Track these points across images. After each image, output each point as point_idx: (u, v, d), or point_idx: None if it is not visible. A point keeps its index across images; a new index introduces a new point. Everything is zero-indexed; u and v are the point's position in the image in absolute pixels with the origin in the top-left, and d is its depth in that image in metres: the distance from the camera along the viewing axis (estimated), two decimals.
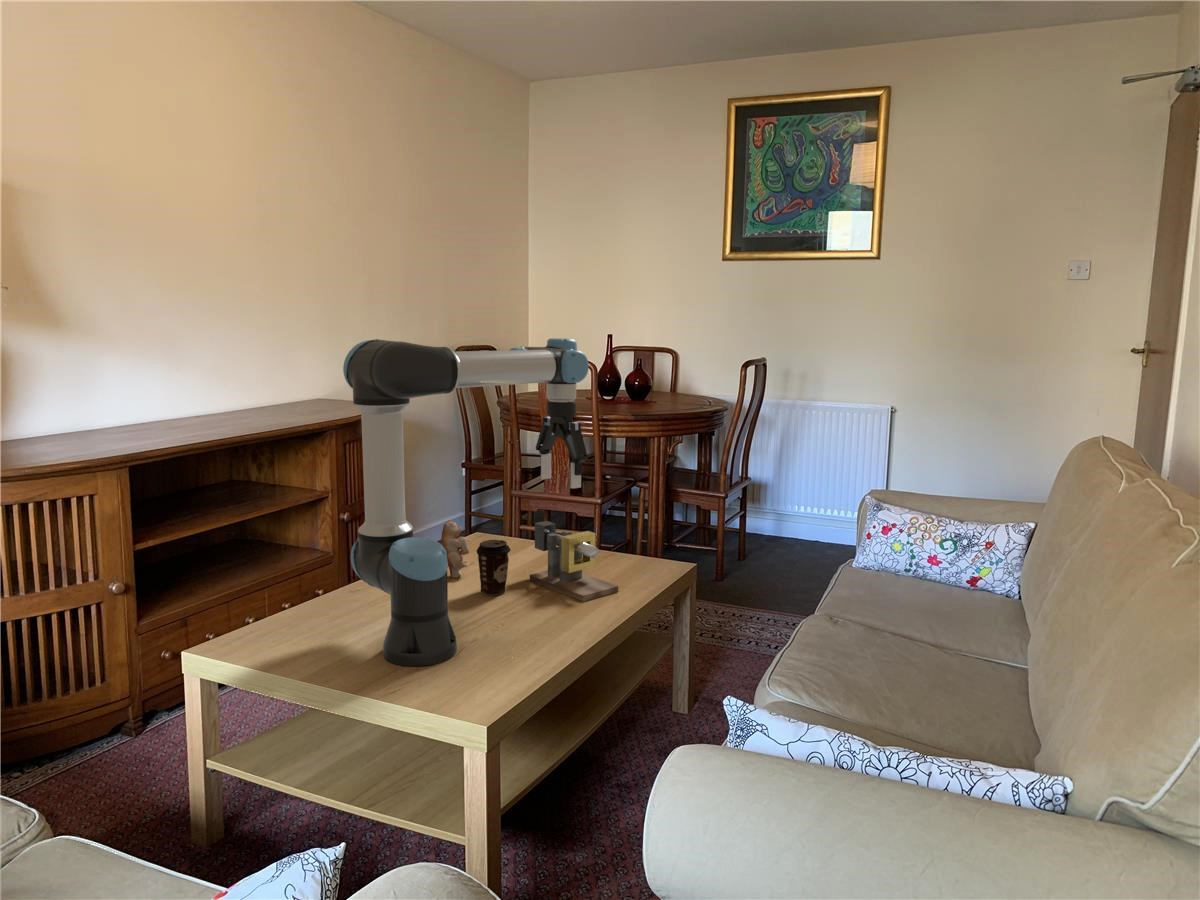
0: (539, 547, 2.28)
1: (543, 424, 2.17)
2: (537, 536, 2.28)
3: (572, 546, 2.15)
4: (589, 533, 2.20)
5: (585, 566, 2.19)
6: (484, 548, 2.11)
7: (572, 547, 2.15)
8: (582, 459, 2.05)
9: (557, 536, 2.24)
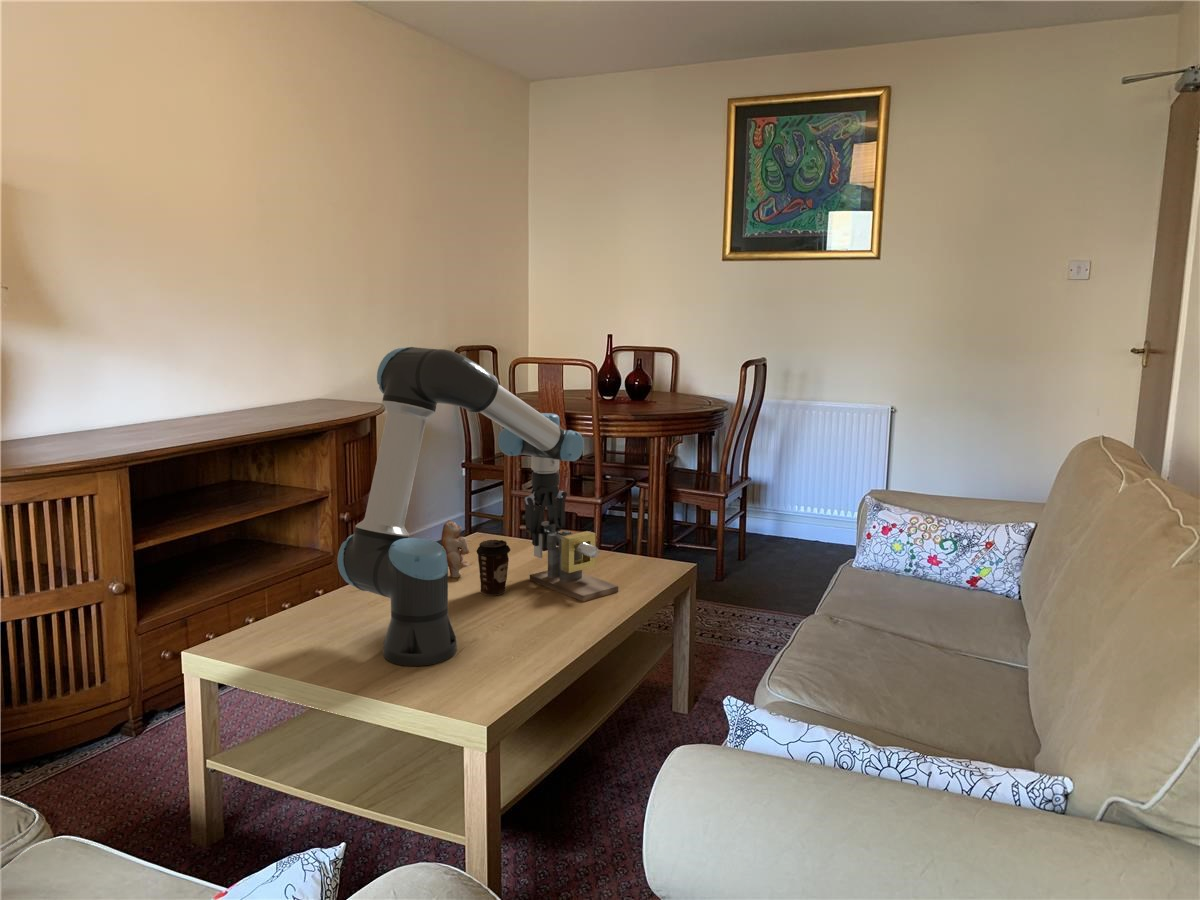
0: None
1: None
2: None
3: (572, 546, 2.15)
4: (589, 533, 2.20)
5: (585, 566, 2.19)
6: (484, 548, 2.11)
7: (572, 547, 2.15)
8: (528, 531, 2.25)
9: (557, 536, 2.24)
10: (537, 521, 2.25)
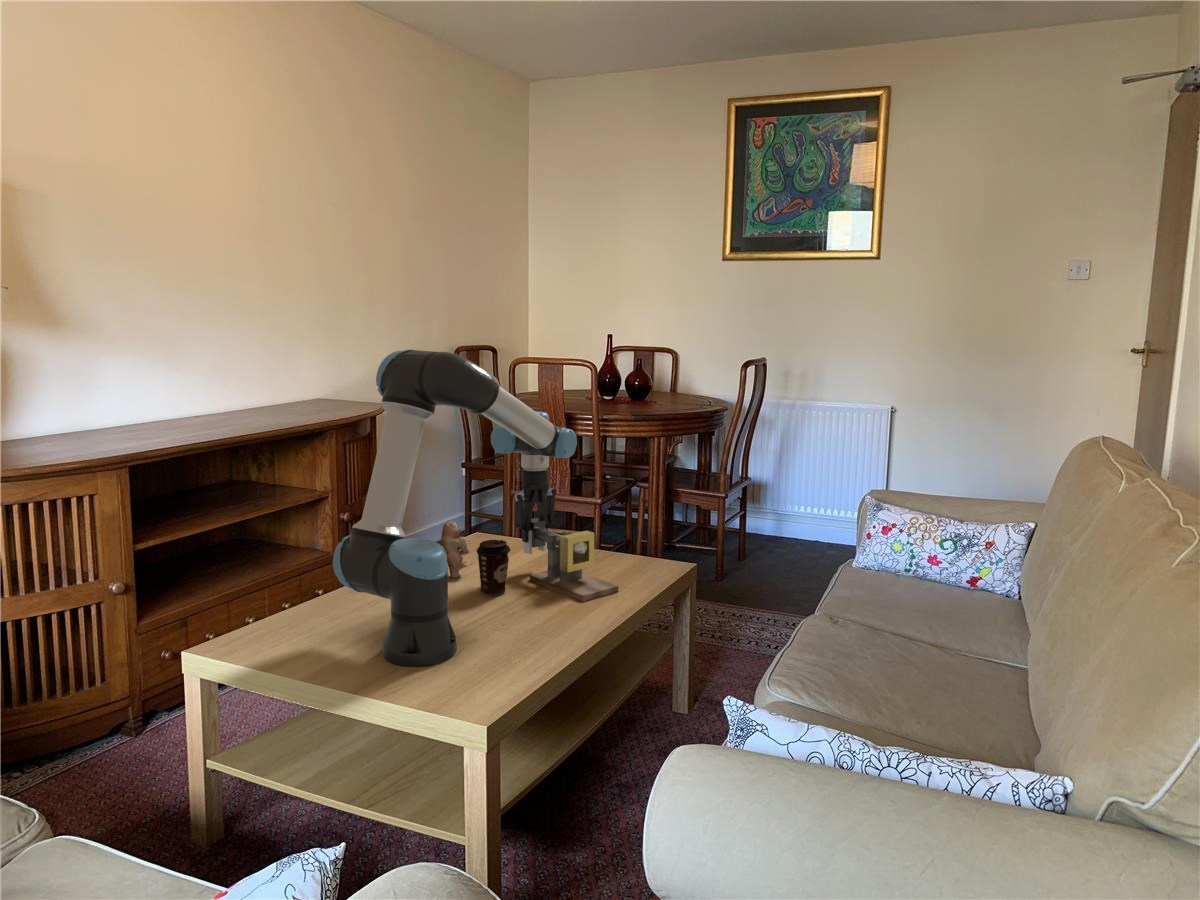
0: None
1: None
2: None
3: (571, 546, 2.15)
4: (588, 533, 2.20)
5: (584, 566, 2.19)
6: (484, 548, 2.11)
7: (571, 547, 2.15)
8: (518, 528, 2.28)
9: (547, 533, 2.27)
10: (527, 518, 2.29)
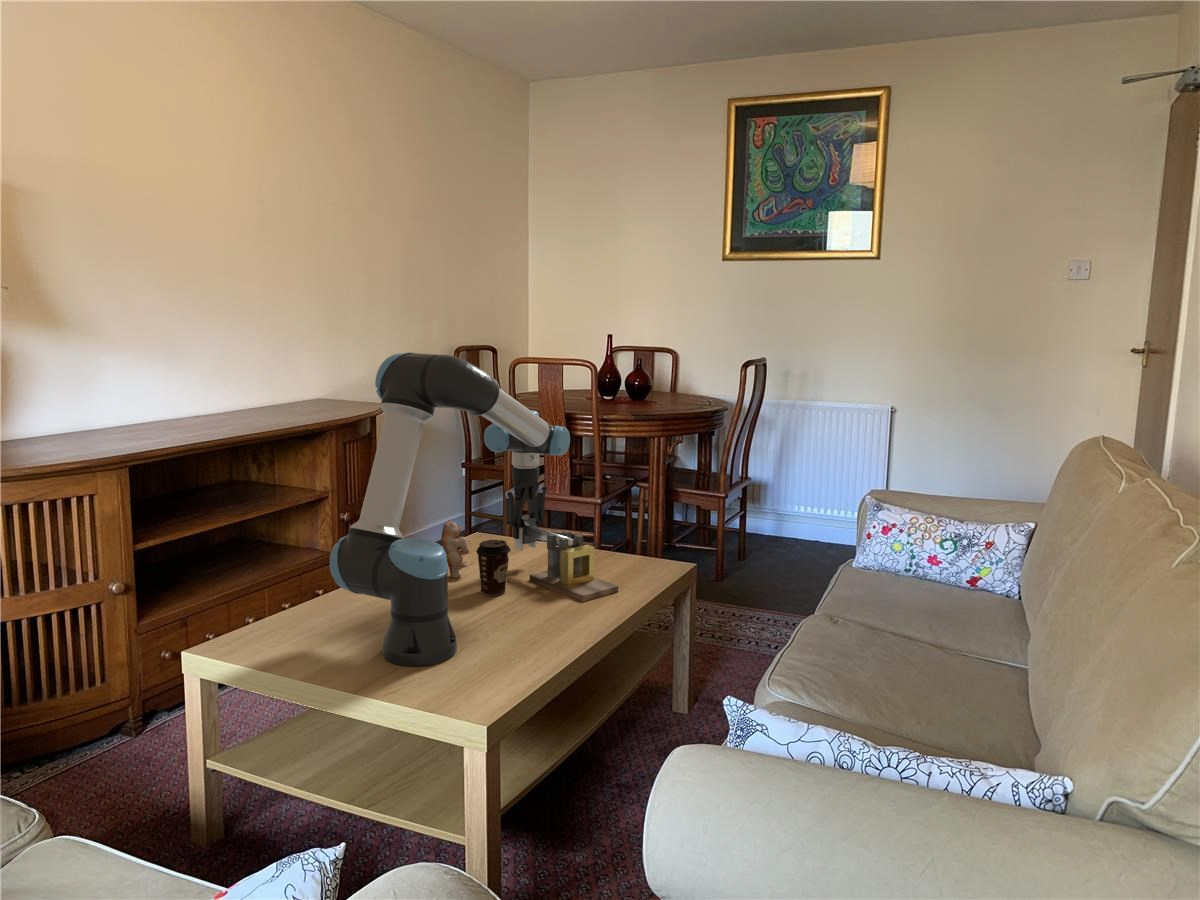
0: None
1: None
2: None
3: (571, 560, 2.16)
4: (588, 547, 2.20)
5: (584, 580, 2.20)
6: (484, 548, 2.11)
7: (571, 561, 2.16)
8: None
9: (537, 529, 2.30)
10: (517, 515, 2.32)
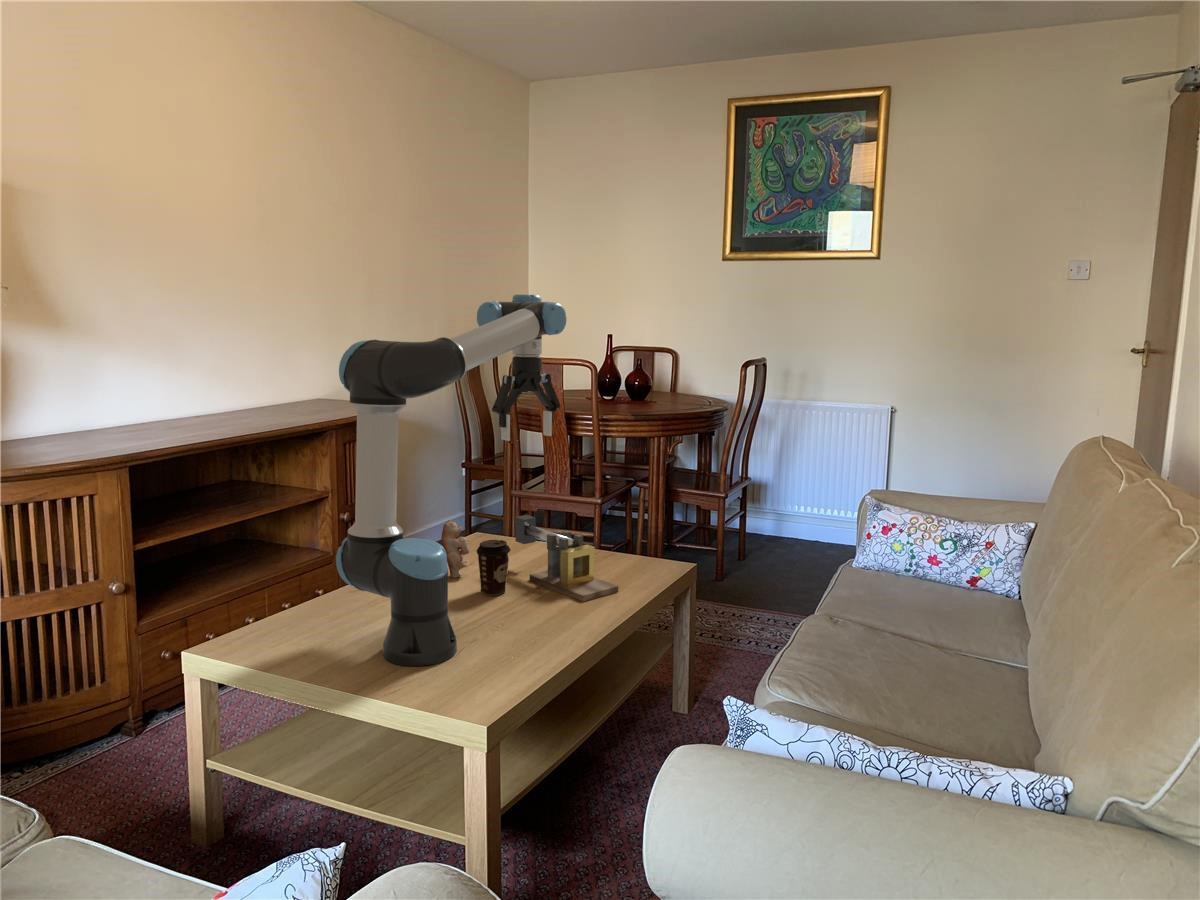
0: (520, 540, 2.34)
1: None
2: (518, 529, 2.35)
3: (571, 560, 2.16)
4: (588, 547, 2.20)
5: (584, 580, 2.20)
6: (484, 548, 2.11)
7: (571, 561, 2.16)
8: (494, 410, 2.11)
9: (537, 529, 2.30)
10: (508, 402, 2.13)
